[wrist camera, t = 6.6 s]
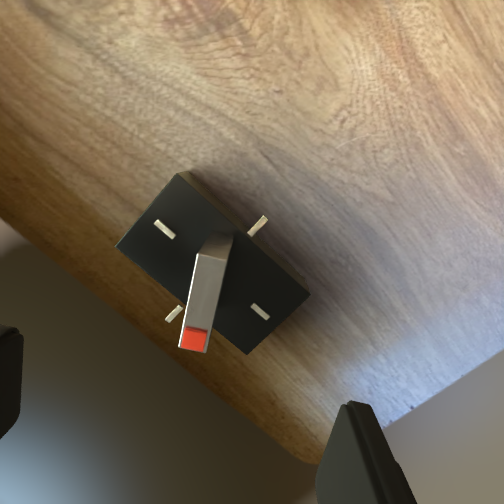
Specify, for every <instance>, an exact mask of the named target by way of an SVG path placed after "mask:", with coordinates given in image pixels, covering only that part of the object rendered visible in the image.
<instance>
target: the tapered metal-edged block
mask: <svg viewBox="0 0 504 504" xmlns="http://www.w3.org/2000/svg"><path fill="white" fill-rule="evenodd" d="M233 239H234V236H232V235H228V234H224V233H219V232H215V231H211V232H210V234H209V236H208V237H207V239H206V241H205V242H204V244H203V245H202V247H201V249H200V250H199V252H198V254H197V257H196V262H195V267H194V272H193V277H192V282H191V287H190V292H189V297H188V302H187V307H186V312H185V317H184V321H183V326H182V331H181V336H180V341H179V348H184V349H188V350H193V351H198V352H202V353H206V351H207V347H208V343H209V339H210V335H211V332H212V328H213V324H214V320H215V316H216V312H217V308H218V304H219V300H220V295H221V291H222V287H223V282H224V278H225V274H226V269H227V265H228V261H229V256H230V252H231V248H232V243H233Z"/></svg>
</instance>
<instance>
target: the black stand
mask: <svg viewBox="0 0 504 504" xmlns="http://www.w3.org/2000/svg"><path fill="white" fill-rule="evenodd" d="M267 220H268V219H267V218H266V217H264V216H262V218H261V219H260V220H259V221H258V222H257V223H256V224H255V225H254V226H253V227H252V228H251V229H250V228H249V227H248V226H247V225H246V224H245V223H243V222H242V221H241V220H240V219H239V218H238V217H237V216H236V215H235V214H234V213H233V212H231V211H230V210H229V209H228V208H227V207H226V206H225V205H224V204H223V203H222V202H221V201H219V200H218V199H217V198H216V197H215V196H214V195H213V194H212V193H211V192H210V191H208V190H207V189H206V188H205V187H204V186H203V185H202V184H201V183H200V182H199V181H198V180H196V179H195V178H194V177H193V176H192V175H191V174H190V173H189V172H188V171H186V172H181V173H176V175H175V176H174V177H173V178H172V179H171V180H170V182H169V183H168V184H167V185H166V186H165V188H164V189H163V190H162V191H161V192H160V193H159V195H158V196H157V197H156V198H155V199H154V201H153V202H152V203H151V204H150V205H149V207H148V208H147V209H146V210H145V211H144V212H143V214H142V215H141V216H140V217H139V218H138V220H137V221H136V222H135V223H134V224H133V225H132V227H131V228H130V229H129V230H128V231H127V233H126V234H125V235H124V236H123V237H122V238H121V240H120V241H119V242H118V243H117V244H116V246H115V247H116V248H117V249H118V250H120V251H121V252H122V253H123V254H124V255H126V256H127V257H128V258H129V259H130V260H132V261H133V262H134V263H135V264H137V265H138V266H139V267H140V268H141V269H143V270H144V271H145V272H146V273H147V274H149V275H150V276H151V277H152V278H154V279H155V280H156V281H157V282H158V283H160V284H161V285H162V286H163V287H165V288H166V289H167V290H168V291H169V292H171V293H172V294H173V295H174V296H175V297H177V298H178V299H179V300H180V301H182V302H183V303H184V304H185V305H186V306H187V302H188V297H189V292H190V287H191V282H192V277H193V272H194V267H195V262H196V257H197V254H198V252H199V250H200V249H201V247H202V245H203V244H204V242H205V241H206V239H207V237H208V236H209V234H210V232H211V231H215V232H219V233H224V234H228V235H232V236H234V239H233V243H232V248H231V252H230V256H229V261H228V265H227V269H226V274H225V278H224V282H223V287H222V291H221V295H220V300H219V304H218V308H217V312H216V316H215V320H214V324H213V328H214V329H216V330H217V331H218V332H219V333H220V334H222V335H223V336H224V337H225V338H226V339H228V340H229V341H230V342H231V343H233V344H234V345H235V346H236V347H237V348H239V349H240V350H241V351H242V352H243V353H245V354H246V355H248V354H249V353H250V352H251V351H252V350H253V349H254V348H255V347H256V346H257V345H258V344H259V343H260V342H261V341H262V340H264V339H265V338H266V337H267V336H268V335H269V334H270V333H271V332H272V331H273V330H274V329H275V328H276V327H277V326H278V325H279V324H281V323H282V322H283V321H284V320H285V319H286V318H287V317H288V316H289V315H290V314H291V313H292V312H293V311H294V310H295V309H296V308H298V307H299V306H300V305H301V304H302V303H303V302H304V301H305V300H306V299H307V298H308V297H309V296H310V295H311V294H310V291H309V289H308V286H307V284H306V281H305V279H304V277H302V276H301V275H300V274H299V273H298V272H297V271H296V270H295V269H294V268H293V267H292V266H290V265H289V264H288V263H287V262H286V261H285V260H284V259H283V258H282V257H281V256H280V255H278V254H277V253H276V252H275V251H274V250H273V249H272V248H271V247H270V246H269V245H268V244H266V243H265V242H264V241H263V240H262V239H261V238H260V237H259V236H258V235H257V234H255V233H256V232H257V231H258V230H259V229H260V228H261V227H262V226H263V225H264V224H265V222H266V221H267ZM182 309H183V307H182V306H181V305H180V304H179V305H178V306H177V307H176V308H175V309H174V310H173V311H172V312H171V313H170V314H169V316H168V317H167V318H166V319H165V320H166V321H168V322H169V323H170V322H171V321H172V320H173V319H174V318H175V317H176V316H177V314H178V313H179V312H180V311H181V310H182Z"/></svg>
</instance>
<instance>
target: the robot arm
mask: <svg viewBox="0 0 504 504" xmlns="http://www.w3.org/2000/svg"><path fill="white" fill-rule="evenodd" d="M23 341H24V338H23V335H21V334H19V330H18V329H17V328H14V327H10V326H6V325H1V324H0V439H1V438H2V437H3V436H4V435H5V434H6V433H7V432H8V430H9V429H10V428H11V427H12V426H13V425H14V424H15V422H16V421H17V419H18V417H19V414H20V402H21V401H20V400H21V383H22V363H23ZM315 488H316V495H317V501H318V504H417V502H416V500H415V498H414V496H413V494H412V491H411V489H410V487H409V485H408V482H407V480H406V478H405V475H404V473H403V471H402V469H401V467H400V465H399V464H398V463H397V462H396V461H395V459H394V457H393V455H392V452H391V450H390V448H389V445H388V443H387V441H386V439H385V437H384V434H383V432H382V430H381V427H380V425H379V423H378V421H377V418H376V416H375V414H374V412H373V409H372V407H371V406H370V405H369V404H365V403H360V402H356V401H349V402H348V403H347V405H345V404H342V405H341V407H340V409H339V412H338V415H337V418H336V421H335V423H334V426H333V429H332V432H331V435H330V437H329V440H328V443H327V446H326V448H325V451H324V454H323V457H322V460H321V462H320V465H319V468H318V471H317V474H316V480H315Z"/></svg>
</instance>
